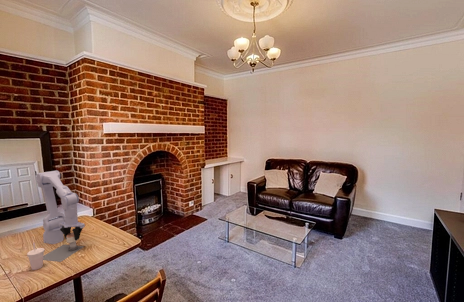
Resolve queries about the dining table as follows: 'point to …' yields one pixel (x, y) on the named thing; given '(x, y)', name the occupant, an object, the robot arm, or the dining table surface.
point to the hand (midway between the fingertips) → (72, 239)
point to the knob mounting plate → (62, 252)
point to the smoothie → (36, 257)
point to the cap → (70, 238)
